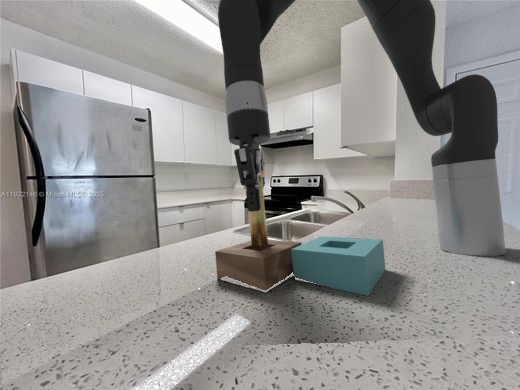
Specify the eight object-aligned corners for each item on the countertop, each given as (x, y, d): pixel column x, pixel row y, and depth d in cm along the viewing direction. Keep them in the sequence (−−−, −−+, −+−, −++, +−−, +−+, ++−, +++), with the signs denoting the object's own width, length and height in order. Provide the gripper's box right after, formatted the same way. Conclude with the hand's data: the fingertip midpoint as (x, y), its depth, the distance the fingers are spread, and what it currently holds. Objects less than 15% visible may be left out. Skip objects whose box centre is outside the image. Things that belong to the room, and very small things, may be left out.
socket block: (323, 261, 43) (320, 236, 43) (385, 269, 36) (382, 239, 36) (294, 280, 34) (291, 249, 35) (368, 295, 27) (364, 256, 27)
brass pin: (258, 241, 41) (252, 174, 41) (275, 242, 39) (268, 170, 39) (244, 245, 38) (237, 173, 38) (261, 247, 36) (253, 169, 36)
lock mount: (258, 262, 46) (256, 238, 46) (303, 269, 39) (301, 242, 39) (217, 279, 38) (215, 251, 38) (265, 293, 30) (262, 258, 31)
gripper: (260, 93, 31) (272, 211, 31) (272, 124, 45) (280, 206, 45) (212, 102, 33) (223, 215, 32) (238, 130, 46) (246, 209, 46)
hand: (256, 209), depth 39 cm, fingers closed on brass pin, 3 cm apart
